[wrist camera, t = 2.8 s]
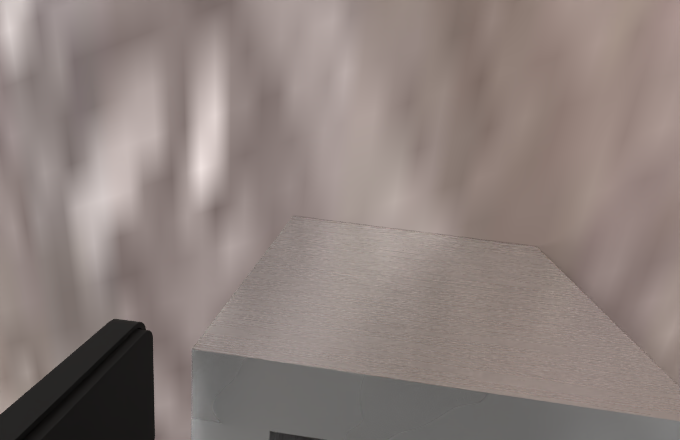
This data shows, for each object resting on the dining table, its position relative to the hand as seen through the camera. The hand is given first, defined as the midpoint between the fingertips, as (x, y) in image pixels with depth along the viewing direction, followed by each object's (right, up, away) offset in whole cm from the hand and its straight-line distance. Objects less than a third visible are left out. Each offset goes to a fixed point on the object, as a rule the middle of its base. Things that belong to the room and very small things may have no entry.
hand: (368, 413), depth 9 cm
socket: (+1, +1, +3) cm, 3 cm away
